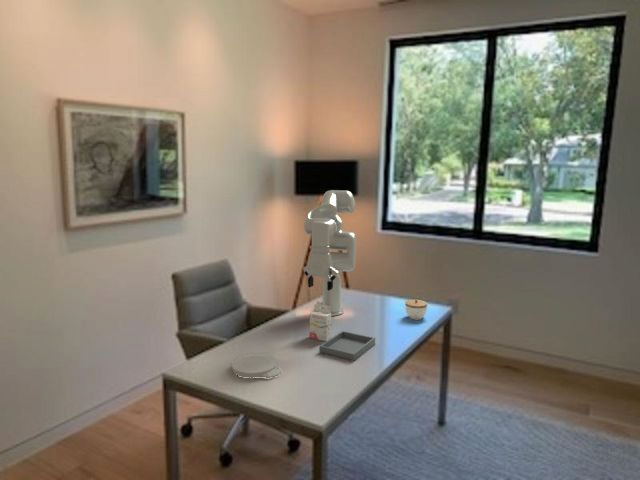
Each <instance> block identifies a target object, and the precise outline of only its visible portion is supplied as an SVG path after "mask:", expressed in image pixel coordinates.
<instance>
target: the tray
mask: <svg viewBox="0 0 640 480" xmlns="http://www.w3.org/2000/svg"><path fill="white" fill-rule="evenodd" d="M375 345H376V337H374V336H367V335H363V334H359V333H355V332H349V331H345V330H341V331H340V332H338V333H337V334H335V335H334V336H331V338H329V339H328V340H327V341H324V342H323V343H322V344H320V345H319V346H318V347H319V350H318V352H319V354H322V353H323V355H326V354H327V356H331V357H334V356H335V357H336V358H338V357H339V358H338V359H343V360H345V361H349V362H350V361H351V362H355V361H356V360H358V359H359V358H361V357H362V356H363V355H364V354H365V353H367V352H368V351H369V350H370V349H372V348H373V347H374V346H375Z"/></svg>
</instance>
